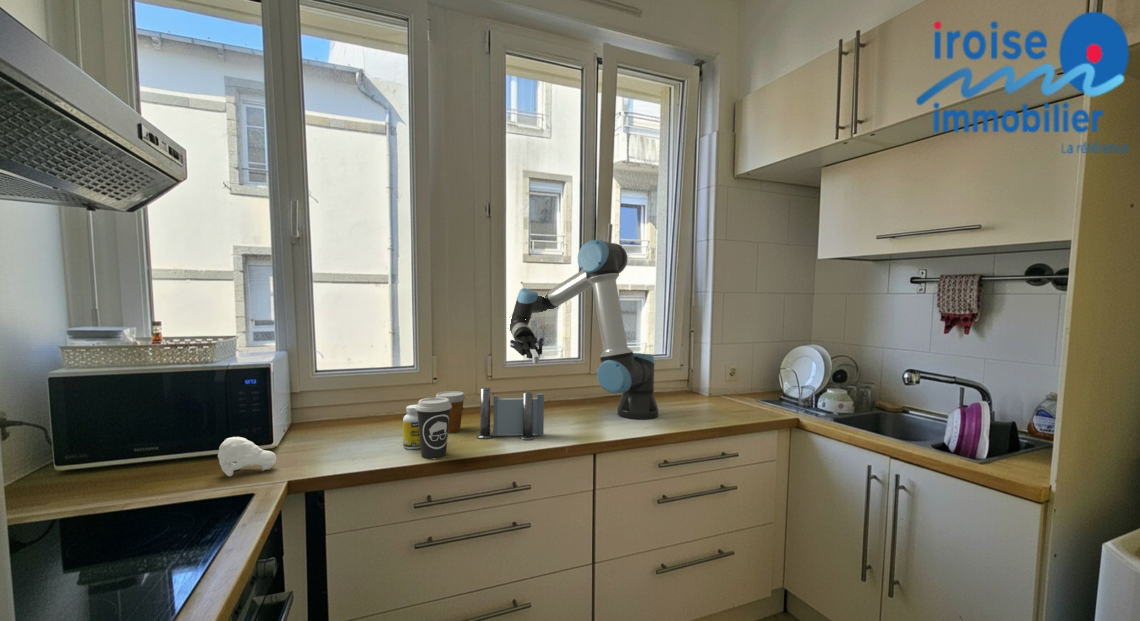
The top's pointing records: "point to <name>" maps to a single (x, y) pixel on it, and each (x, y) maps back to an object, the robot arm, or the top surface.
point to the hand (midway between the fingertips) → (536, 360)
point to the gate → (516, 415)
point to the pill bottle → (411, 429)
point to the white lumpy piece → (243, 455)
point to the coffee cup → (433, 426)
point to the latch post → (527, 416)
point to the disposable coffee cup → (454, 408)
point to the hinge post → (485, 415)
